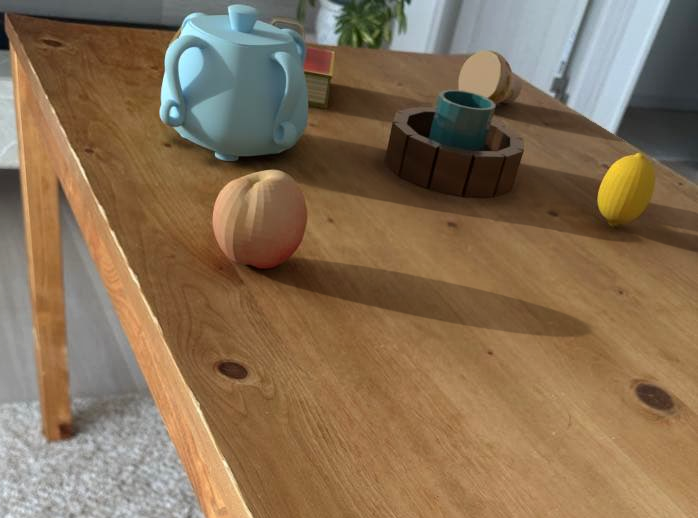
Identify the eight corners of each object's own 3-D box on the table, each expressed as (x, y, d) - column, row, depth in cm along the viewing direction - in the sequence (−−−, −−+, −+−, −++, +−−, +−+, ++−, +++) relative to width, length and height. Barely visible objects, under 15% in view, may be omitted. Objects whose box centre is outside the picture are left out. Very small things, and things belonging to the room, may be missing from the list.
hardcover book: (181, 55, 121) (183, 21, 118) (330, 82, 122) (335, 48, 119) (166, 79, 112) (167, 43, 110) (326, 108, 113) (332, 73, 111)
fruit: (232, 234, 82) (241, 147, 77) (311, 259, 81) (325, 172, 75) (195, 266, 76) (201, 174, 71) (279, 293, 75) (292, 201, 70)
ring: (511, 162, 109) (523, 124, 106) (511, 207, 98) (524, 167, 95) (392, 136, 109) (400, 98, 106) (378, 178, 98) (387, 137, 95)
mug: (530, 110, 127) (542, 50, 118) (476, 143, 126) (483, 86, 117) (498, 79, 130) (507, 19, 120) (445, 112, 129) (449, 53, 119)
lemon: (577, 219, 98) (605, 146, 92) (605, 212, 101) (633, 140, 95) (618, 240, 95) (649, 166, 90) (645, 232, 98) (677, 159, 93)
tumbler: (475, 168, 105) (495, 97, 100) (474, 187, 101) (495, 113, 95) (423, 156, 106) (441, 85, 100) (419, 175, 101) (437, 101, 95)
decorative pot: (139, 150, 94) (143, 7, 85) (180, 106, 106) (187, -24, 96) (287, 183, 93) (306, 42, 84) (311, 135, 105) (331, 7, 96)
